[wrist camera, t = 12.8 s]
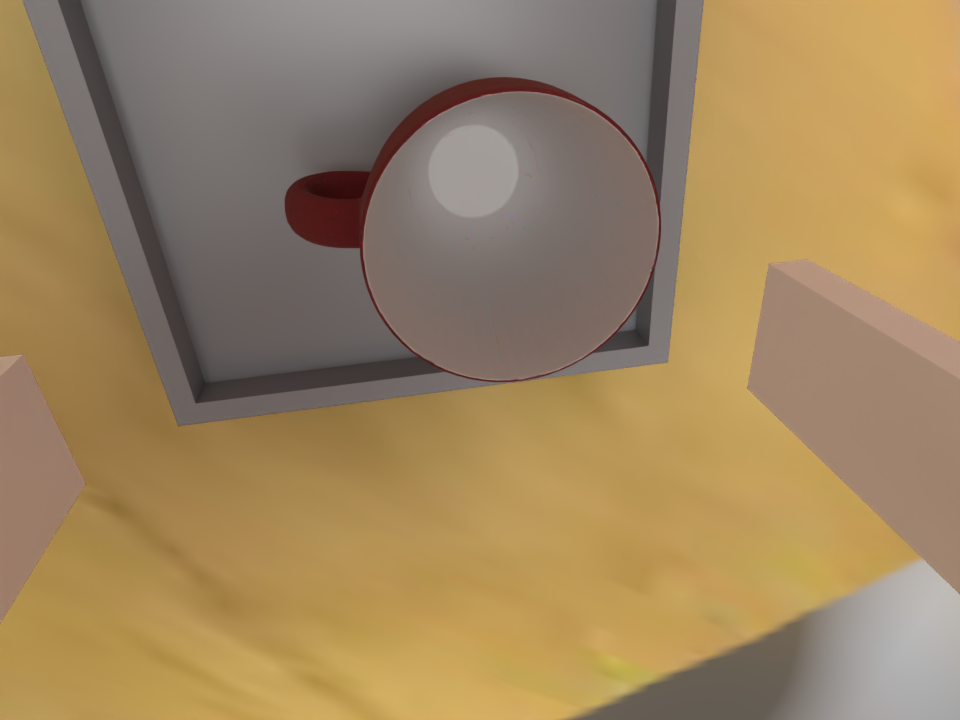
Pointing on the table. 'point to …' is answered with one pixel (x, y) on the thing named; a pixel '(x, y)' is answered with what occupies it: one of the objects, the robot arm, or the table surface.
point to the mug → (495, 228)
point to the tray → (325, 166)
